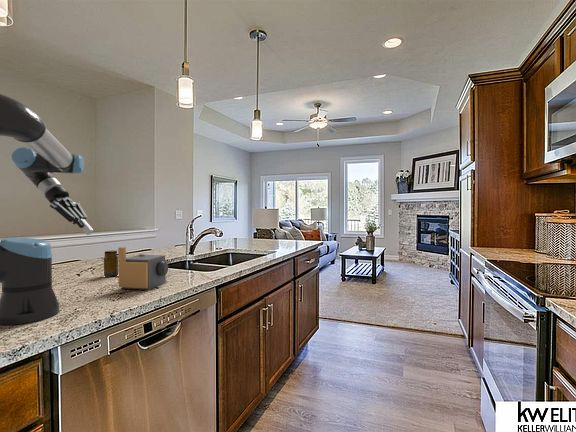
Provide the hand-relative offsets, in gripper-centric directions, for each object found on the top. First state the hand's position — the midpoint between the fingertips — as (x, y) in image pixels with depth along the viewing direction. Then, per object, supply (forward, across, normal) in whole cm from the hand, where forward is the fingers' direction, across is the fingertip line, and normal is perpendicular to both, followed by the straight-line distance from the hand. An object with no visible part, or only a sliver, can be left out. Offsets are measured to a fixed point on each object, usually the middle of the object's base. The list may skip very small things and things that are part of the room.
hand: (90, 232), depth 128 cm
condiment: (+11, -22, -22) cm, 33 cm away
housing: (+29, -7, -3) cm, 30 cm away
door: (+29, 0, -2) cm, 29 cm away
